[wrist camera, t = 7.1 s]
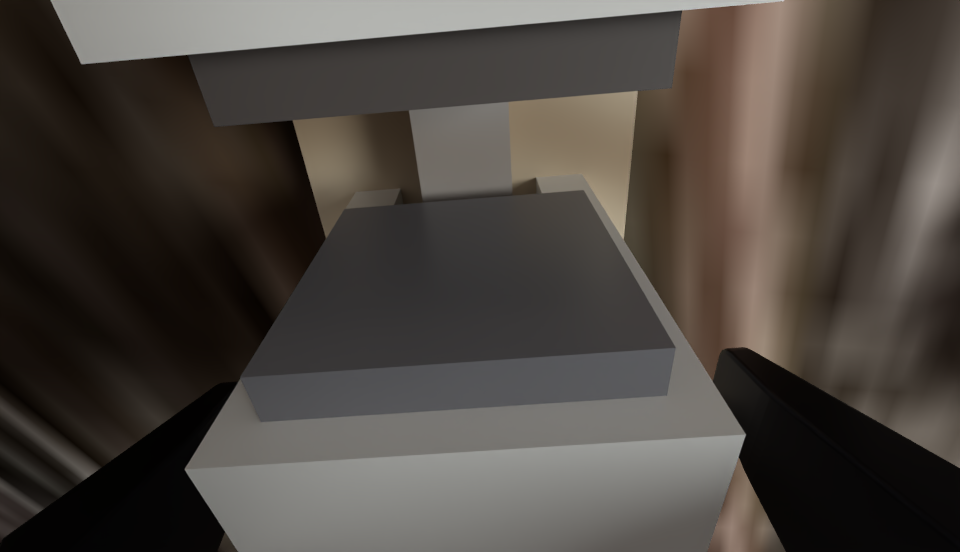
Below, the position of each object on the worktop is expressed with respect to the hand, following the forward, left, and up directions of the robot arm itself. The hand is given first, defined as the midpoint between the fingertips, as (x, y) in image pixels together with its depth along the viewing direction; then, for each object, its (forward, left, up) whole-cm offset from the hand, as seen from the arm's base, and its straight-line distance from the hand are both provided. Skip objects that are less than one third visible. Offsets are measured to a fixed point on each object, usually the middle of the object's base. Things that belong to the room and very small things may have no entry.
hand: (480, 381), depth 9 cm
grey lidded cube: (0, 0, -3) cm, 3 cm away
